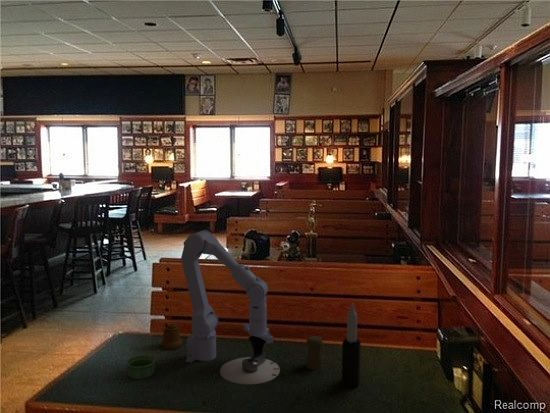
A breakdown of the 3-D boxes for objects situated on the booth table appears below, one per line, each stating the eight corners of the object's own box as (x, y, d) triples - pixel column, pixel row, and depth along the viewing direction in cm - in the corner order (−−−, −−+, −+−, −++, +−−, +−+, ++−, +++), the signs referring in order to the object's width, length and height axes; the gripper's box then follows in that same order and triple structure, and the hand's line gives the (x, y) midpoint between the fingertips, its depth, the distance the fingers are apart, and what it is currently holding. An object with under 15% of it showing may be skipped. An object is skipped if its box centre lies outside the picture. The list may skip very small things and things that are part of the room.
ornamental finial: (174, 340, 173) (186, 346, 168) (157, 346, 168) (168, 352, 163) (174, 320, 173) (186, 325, 168) (156, 325, 167) (168, 330, 162)
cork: (322, 375, 146) (323, 341, 145) (303, 373, 147) (304, 340, 146) (324, 367, 151) (325, 334, 150) (306, 365, 153) (306, 333, 152)
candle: (360, 380, 143) (362, 301, 140) (357, 387, 138) (359, 306, 135) (344, 377, 144) (345, 299, 142) (341, 384, 139) (342, 304, 137)
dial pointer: (251, 373, 142) (251, 364, 142) (238, 369, 145) (238, 360, 145) (269, 362, 151) (269, 353, 150) (257, 358, 154) (257, 350, 153)
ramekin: (161, 373, 147) (161, 360, 146) (135, 383, 140) (135, 369, 140) (146, 365, 153) (145, 352, 152) (121, 374, 146) (120, 360, 146)
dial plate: (208, 380, 142) (208, 375, 141) (238, 357, 159) (238, 352, 159) (263, 394, 134) (263, 388, 133) (289, 368, 151) (289, 363, 151)
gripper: (280, 321, 147) (280, 362, 149) (256, 309, 159) (256, 347, 160) (262, 325, 143) (262, 367, 145) (238, 313, 155) (238, 352, 156)
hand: (258, 357), depth 152 cm, fingers closed, pressing on dial pointer
